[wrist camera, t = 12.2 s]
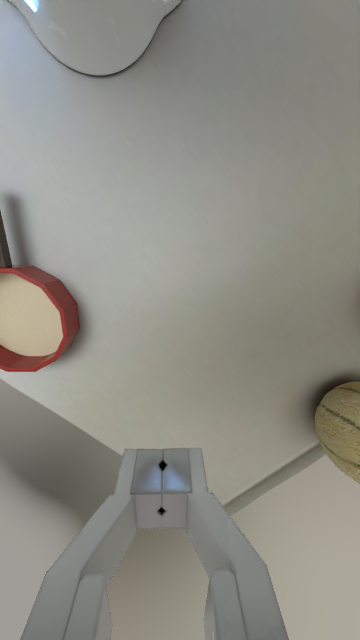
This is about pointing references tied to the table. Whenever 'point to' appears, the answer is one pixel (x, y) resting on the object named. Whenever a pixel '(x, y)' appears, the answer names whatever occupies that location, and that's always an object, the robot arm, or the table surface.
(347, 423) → the cantaloupe
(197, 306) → the table surface
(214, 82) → the table surface
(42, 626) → the robot arm
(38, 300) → the pan
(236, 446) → the table surface
